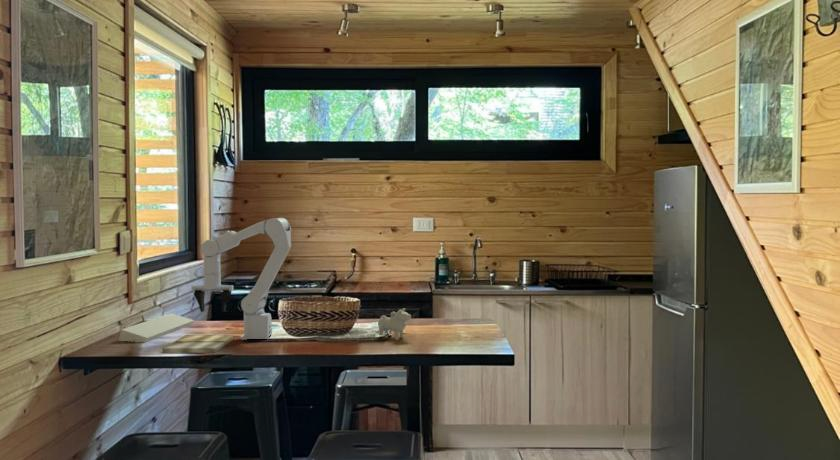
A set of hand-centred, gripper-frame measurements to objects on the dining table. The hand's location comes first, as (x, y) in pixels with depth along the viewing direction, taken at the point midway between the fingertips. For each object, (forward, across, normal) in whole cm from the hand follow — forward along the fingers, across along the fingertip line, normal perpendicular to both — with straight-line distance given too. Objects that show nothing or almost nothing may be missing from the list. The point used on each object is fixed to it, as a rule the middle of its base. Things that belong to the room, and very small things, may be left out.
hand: (213, 311), depth 243 cm
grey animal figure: (+10, -65, +1) cm, 66 cm away
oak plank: (+9, 0, +9) cm, 13 cm away
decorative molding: (+10, +24, -9) cm, 27 cm away
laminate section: (+9, 0, +20) cm, 22 cm away
